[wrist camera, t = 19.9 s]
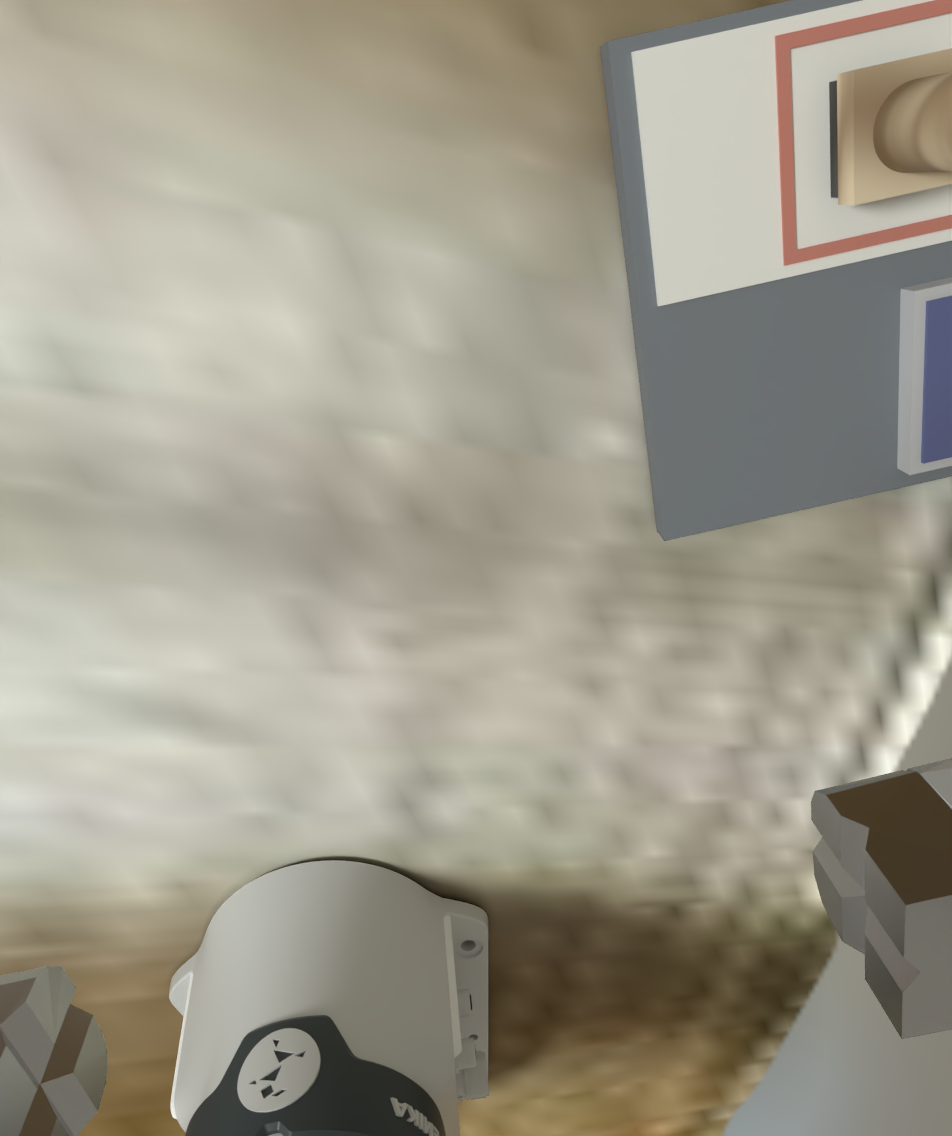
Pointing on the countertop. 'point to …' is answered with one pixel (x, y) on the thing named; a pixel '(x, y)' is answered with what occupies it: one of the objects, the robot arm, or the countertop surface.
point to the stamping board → (776, 267)
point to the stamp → (891, 128)
